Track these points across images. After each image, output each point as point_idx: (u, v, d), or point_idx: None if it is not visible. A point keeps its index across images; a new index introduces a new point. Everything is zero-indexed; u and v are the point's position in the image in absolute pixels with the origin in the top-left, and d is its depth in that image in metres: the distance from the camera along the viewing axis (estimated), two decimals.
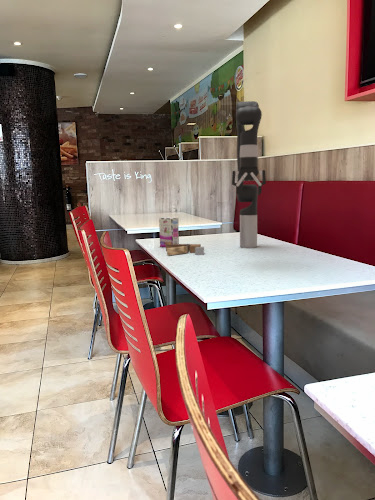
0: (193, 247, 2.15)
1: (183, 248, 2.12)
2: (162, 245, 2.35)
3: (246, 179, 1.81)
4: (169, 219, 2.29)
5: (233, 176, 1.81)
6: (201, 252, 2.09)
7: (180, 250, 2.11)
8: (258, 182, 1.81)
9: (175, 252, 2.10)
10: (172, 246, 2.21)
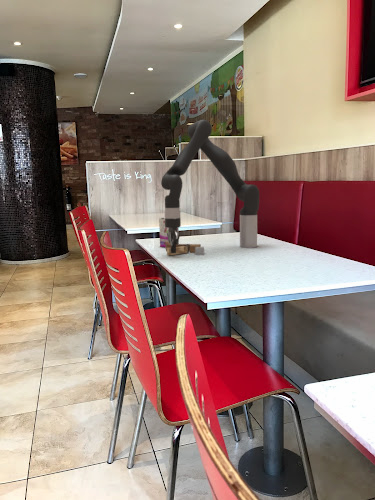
0: (193, 247, 2.15)
1: (183, 248, 2.12)
2: (162, 245, 2.35)
3: None
4: None
5: None
6: (201, 252, 2.09)
7: (180, 250, 2.11)
8: None
9: None
10: None
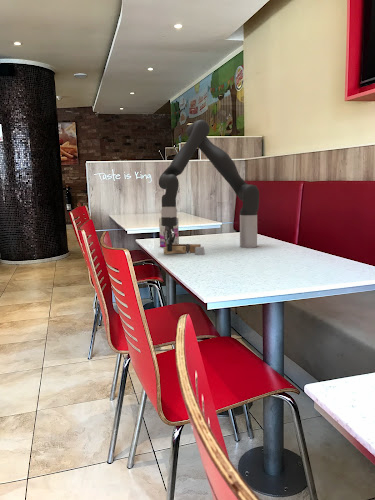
0: (193, 247, 2.15)
1: (181, 248, 2.13)
2: (162, 245, 2.35)
3: None
4: None
5: None
6: (201, 252, 2.09)
7: (178, 249, 2.13)
8: None
9: (172, 251, 2.13)
10: (172, 246, 2.21)
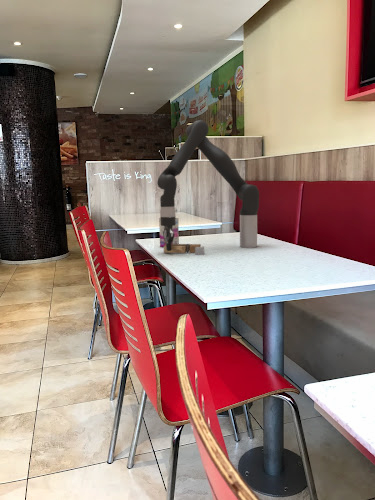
0: (193, 247, 2.15)
1: (181, 247, 2.15)
2: (162, 245, 2.35)
3: None
4: None
5: None
6: (201, 252, 2.09)
7: (177, 249, 2.15)
8: None
9: (171, 250, 2.15)
10: None
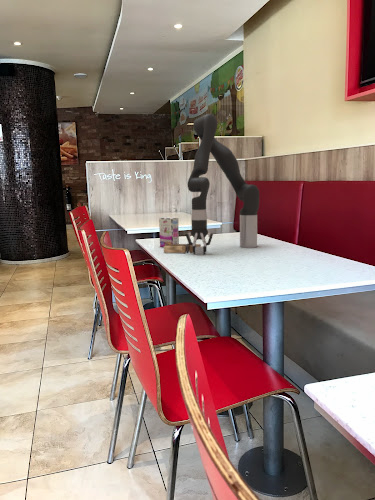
0: None
1: (181, 247, 2.15)
2: (162, 245, 2.35)
3: None
4: (169, 219, 2.29)
5: None
6: (201, 251, 2.09)
7: (177, 249, 2.15)
8: None
9: (171, 250, 2.15)
10: None
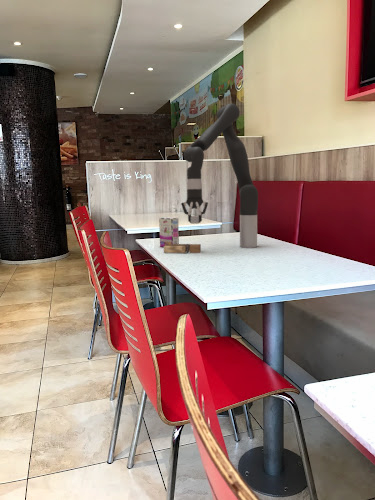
0: (193, 247, 2.15)
1: (181, 247, 2.15)
2: (162, 245, 2.35)
3: None
4: (169, 219, 2.29)
5: None
6: (196, 220, 2.13)
7: (177, 249, 2.15)
8: None
9: (171, 250, 2.15)
10: None
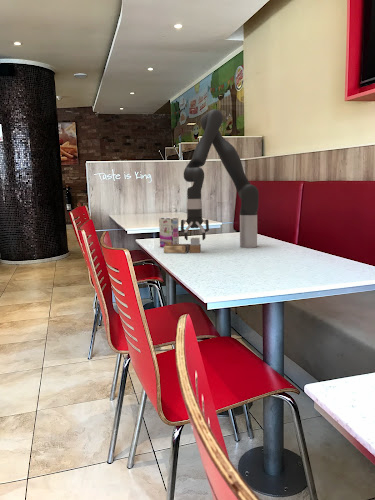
0: (193, 247, 2.15)
1: (181, 247, 2.15)
2: (162, 245, 2.35)
3: None
4: (169, 219, 2.29)
5: None
6: (196, 242, 2.15)
7: (177, 249, 2.15)
8: None
9: (171, 250, 2.15)
10: None
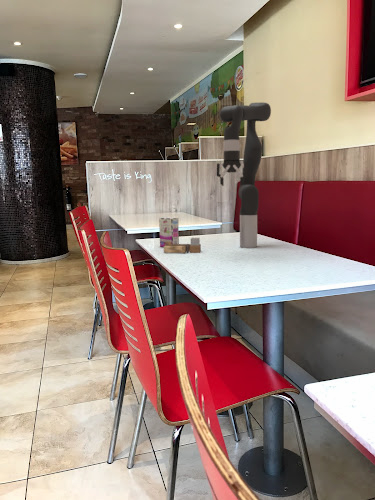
0: (193, 247, 2.15)
1: (181, 247, 2.15)
2: (162, 245, 2.35)
3: None
4: (169, 219, 2.29)
5: None
6: (196, 242, 2.15)
7: (177, 249, 2.15)
8: None
9: (171, 250, 2.15)
10: None
